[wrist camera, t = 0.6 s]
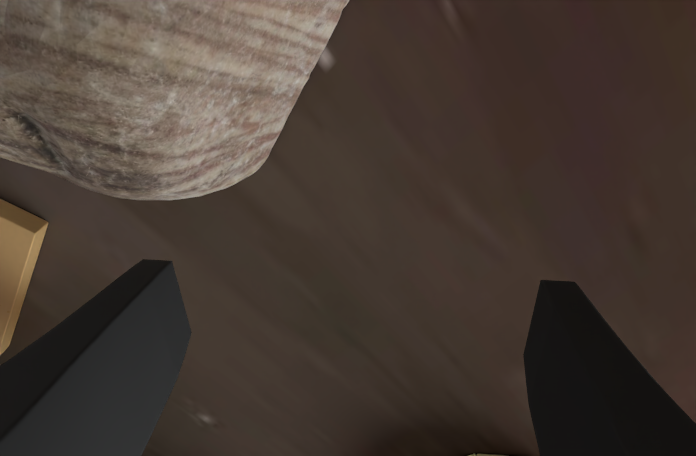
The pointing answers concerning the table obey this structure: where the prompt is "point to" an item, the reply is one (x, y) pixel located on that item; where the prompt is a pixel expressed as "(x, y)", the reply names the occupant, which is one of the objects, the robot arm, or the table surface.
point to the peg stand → (16, 263)
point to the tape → (485, 455)
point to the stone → (154, 88)
